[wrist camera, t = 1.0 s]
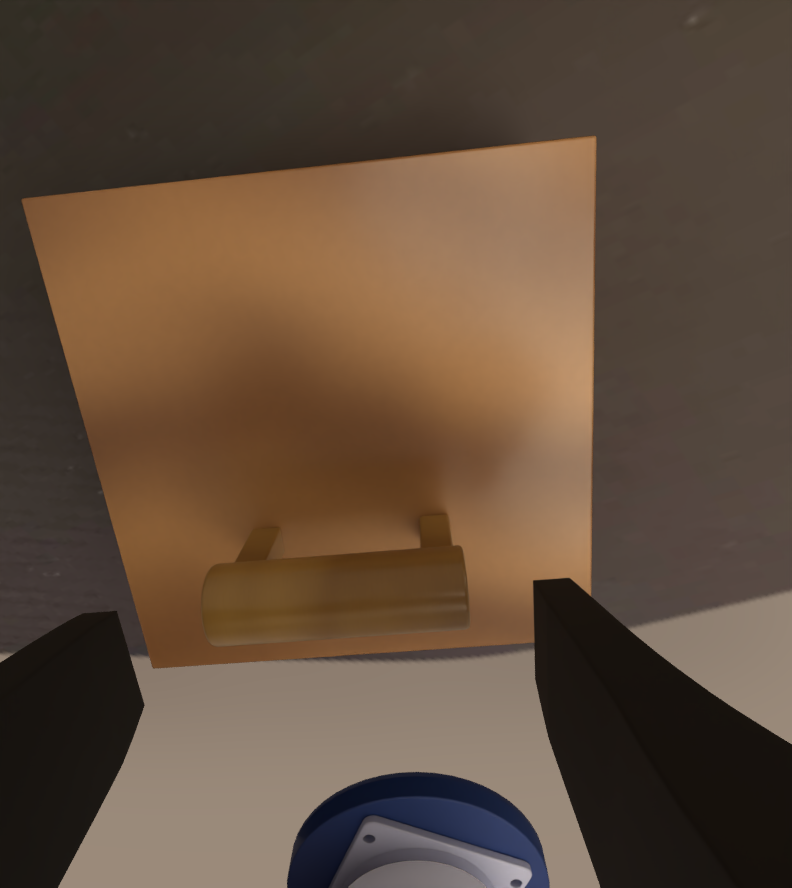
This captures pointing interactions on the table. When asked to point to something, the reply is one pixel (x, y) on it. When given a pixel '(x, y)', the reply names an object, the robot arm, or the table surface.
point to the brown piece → (337, 395)
